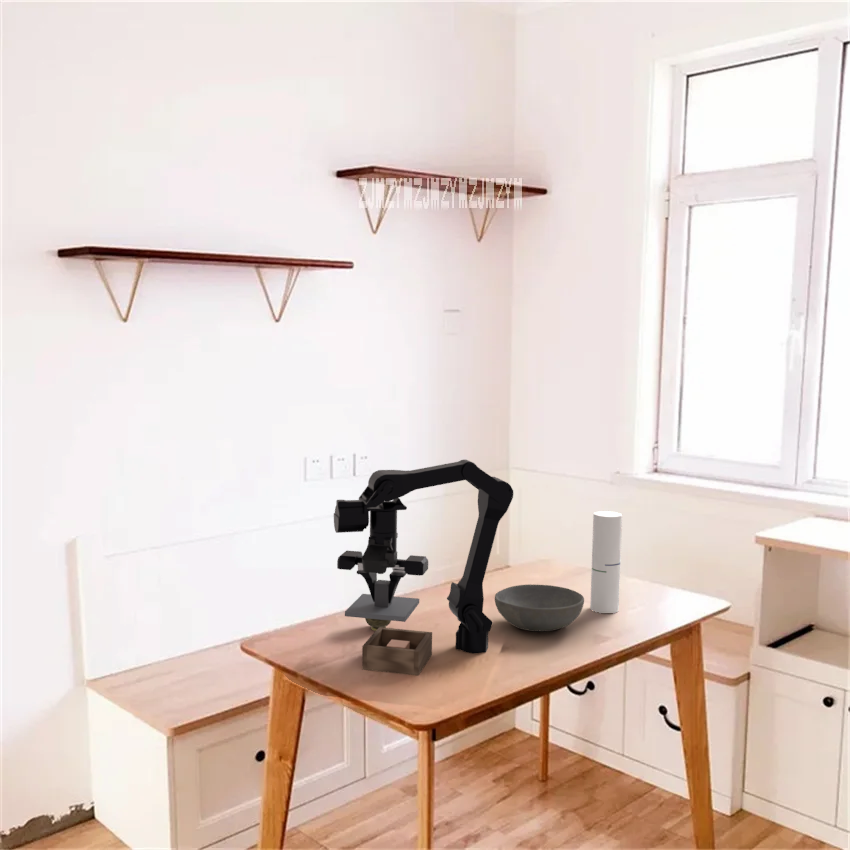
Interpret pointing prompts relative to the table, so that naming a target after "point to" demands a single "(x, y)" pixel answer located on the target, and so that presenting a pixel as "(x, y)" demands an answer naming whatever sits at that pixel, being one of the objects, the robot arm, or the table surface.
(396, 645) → the terracotta cube
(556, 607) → the bowl
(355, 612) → the lid
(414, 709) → the table surface
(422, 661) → the walnut box
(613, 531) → the cylindrical container
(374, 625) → the cup
